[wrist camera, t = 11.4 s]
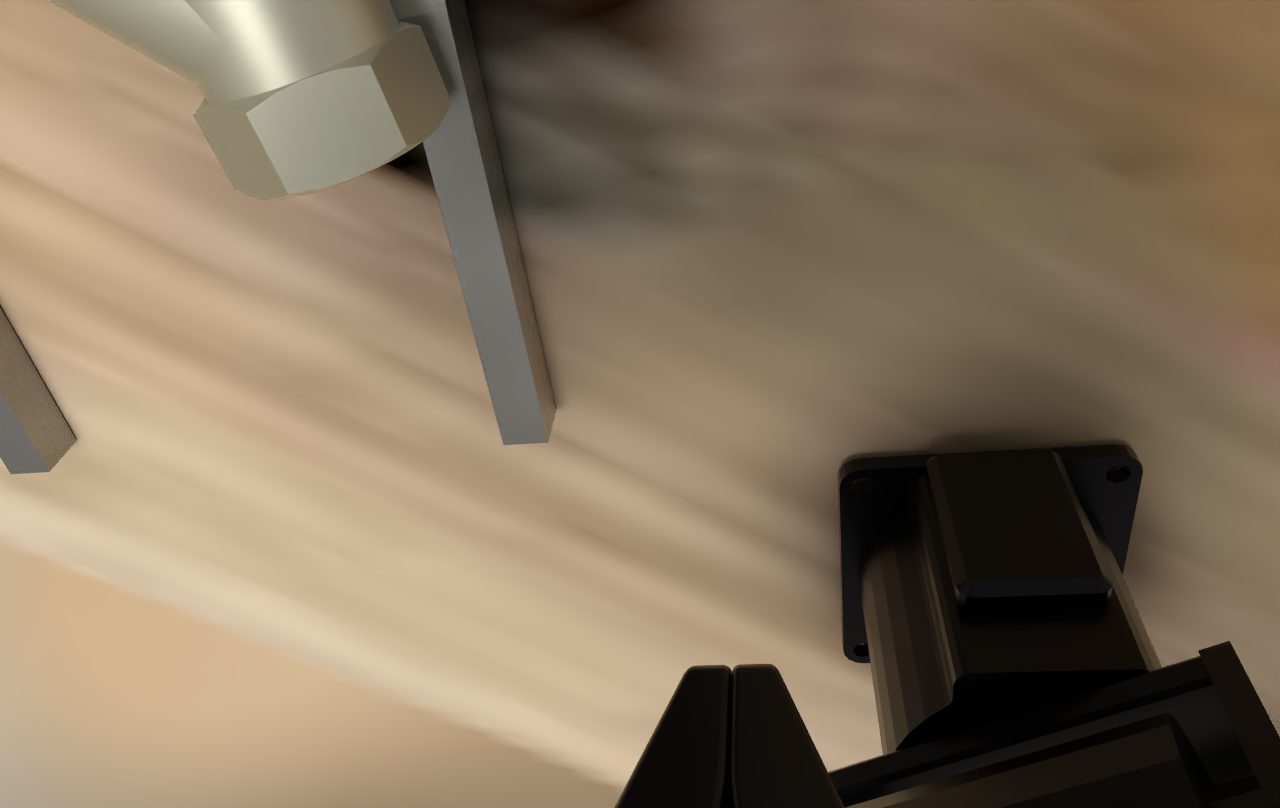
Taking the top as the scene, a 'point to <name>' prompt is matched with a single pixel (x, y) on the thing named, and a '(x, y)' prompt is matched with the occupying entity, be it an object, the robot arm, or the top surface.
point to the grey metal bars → (480, 242)
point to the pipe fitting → (289, 82)
